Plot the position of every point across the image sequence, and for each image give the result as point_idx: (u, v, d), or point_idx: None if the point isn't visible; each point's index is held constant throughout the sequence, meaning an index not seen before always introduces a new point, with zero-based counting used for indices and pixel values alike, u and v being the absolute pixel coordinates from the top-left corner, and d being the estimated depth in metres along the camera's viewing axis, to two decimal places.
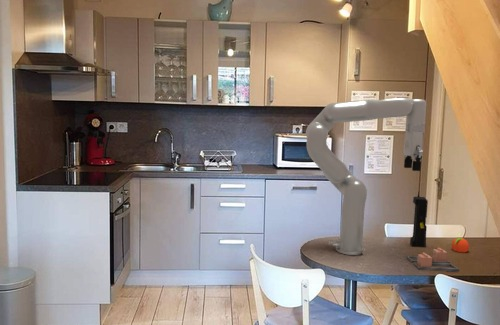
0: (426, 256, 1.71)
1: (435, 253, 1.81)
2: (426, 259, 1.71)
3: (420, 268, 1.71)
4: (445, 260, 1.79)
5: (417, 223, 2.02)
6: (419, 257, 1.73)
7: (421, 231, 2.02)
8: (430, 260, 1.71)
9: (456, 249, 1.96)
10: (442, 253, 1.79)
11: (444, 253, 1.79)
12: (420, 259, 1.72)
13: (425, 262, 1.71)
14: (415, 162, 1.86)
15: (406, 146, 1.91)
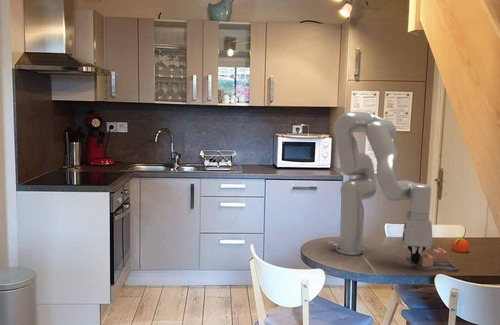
0: (427, 256, 1.71)
1: (435, 253, 1.81)
2: (427, 259, 1.71)
3: (420, 268, 1.71)
4: (445, 260, 1.79)
5: None
6: (420, 257, 1.73)
7: None
8: (431, 260, 1.71)
9: (456, 249, 1.96)
10: (442, 253, 1.79)
11: (444, 253, 1.79)
12: (421, 259, 1.72)
13: (427, 262, 1.71)
14: (419, 254, 1.72)
15: (417, 237, 1.70)
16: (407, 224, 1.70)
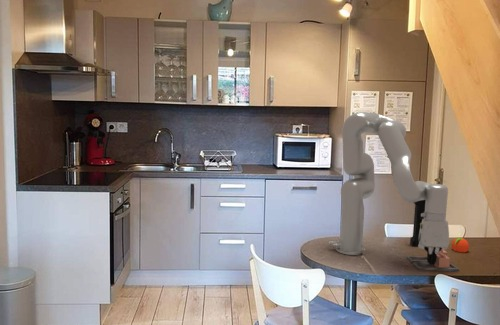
0: (444, 257, 1.71)
1: None
2: (444, 259, 1.71)
3: (420, 268, 1.71)
4: None
5: (417, 223, 2.02)
6: (437, 258, 1.73)
7: None
8: (448, 261, 1.71)
9: (456, 249, 1.96)
10: (442, 253, 1.79)
11: (444, 253, 1.79)
12: (438, 260, 1.72)
13: (443, 263, 1.71)
14: None
15: (434, 238, 1.70)
16: (424, 225, 1.70)
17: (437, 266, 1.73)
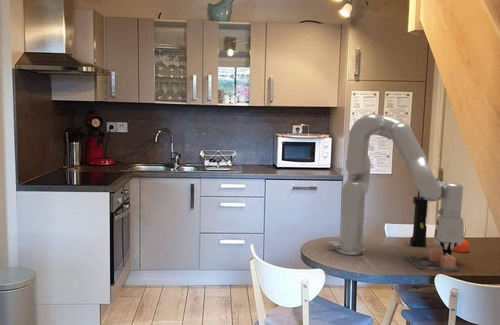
0: (450, 257, 1.71)
1: (431, 253, 1.81)
2: (450, 260, 1.71)
3: (420, 268, 1.71)
4: None
5: (417, 223, 2.02)
6: (442, 258, 1.73)
7: (421, 231, 2.02)
8: (454, 261, 1.71)
9: (456, 249, 1.96)
10: (438, 253, 1.79)
11: (441, 253, 1.79)
12: (444, 260, 1.72)
13: (449, 263, 1.71)
14: (451, 250, 1.80)
15: (449, 233, 1.77)
16: (440, 221, 1.78)
17: (443, 266, 1.73)
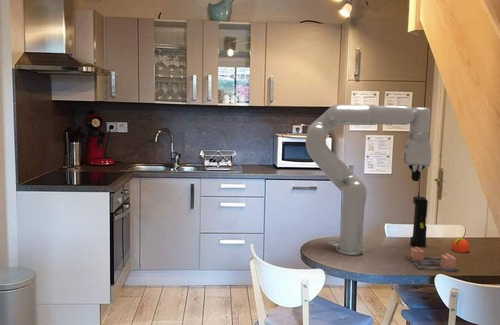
0: (450, 257, 1.71)
1: (412, 252, 1.81)
2: (450, 260, 1.71)
3: (420, 268, 1.71)
4: (422, 259, 1.79)
5: (417, 223, 2.02)
6: (442, 258, 1.73)
7: (421, 231, 2.02)
8: (454, 261, 1.71)
9: (456, 249, 1.96)
10: (419, 252, 1.79)
11: (422, 253, 1.79)
12: (444, 260, 1.72)
13: (449, 263, 1.71)
14: (419, 172, 1.89)
15: (417, 155, 1.86)
16: (408, 144, 1.87)
17: (443, 266, 1.73)
